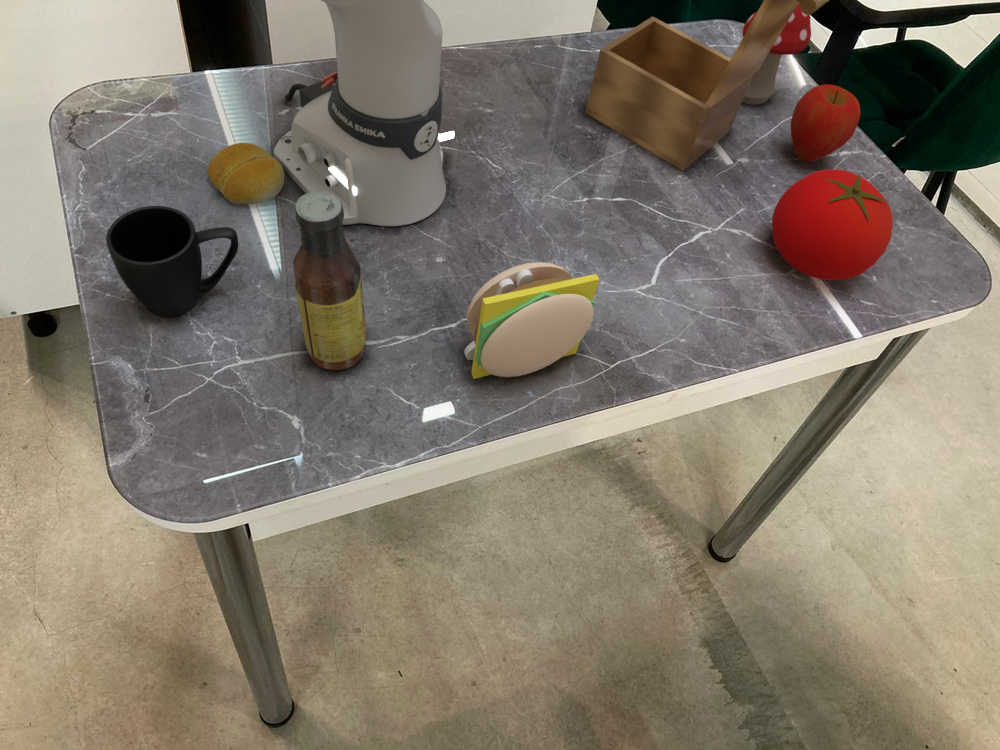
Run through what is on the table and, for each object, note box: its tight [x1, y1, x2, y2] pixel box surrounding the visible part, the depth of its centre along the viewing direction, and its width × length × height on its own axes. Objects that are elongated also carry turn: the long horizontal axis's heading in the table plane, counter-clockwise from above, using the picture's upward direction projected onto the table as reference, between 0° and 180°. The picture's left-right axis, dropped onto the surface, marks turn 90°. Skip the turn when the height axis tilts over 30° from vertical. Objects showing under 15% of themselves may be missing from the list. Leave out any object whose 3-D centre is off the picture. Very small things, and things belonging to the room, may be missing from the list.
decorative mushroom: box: [741, 3, 812, 105], centre depth 115 cm, size 10×9×15 cm
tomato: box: [771, 168, 894, 281], centre depth 96 cm, size 13×14×12 cm
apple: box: [790, 83, 861, 163], centre depth 109 cm, size 9×8×11 cm
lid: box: [706, 0, 830, 108], centre depth 95 cm, size 18×13×5 cm
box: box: [584, 16, 753, 172], centre depth 110 cm, size 17×13×10 cm
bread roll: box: [207, 142, 285, 205], centre depth 95 cm, size 8×9×4 cm
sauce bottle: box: [292, 191, 367, 372], centre depth 76 cm, size 7×6×20 cm
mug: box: [105, 205, 239, 319], centre depth 82 cm, size 8×12×10 cm
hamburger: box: [463, 261, 600, 380], centre depth 82 cm, size 12×8×12 cm
